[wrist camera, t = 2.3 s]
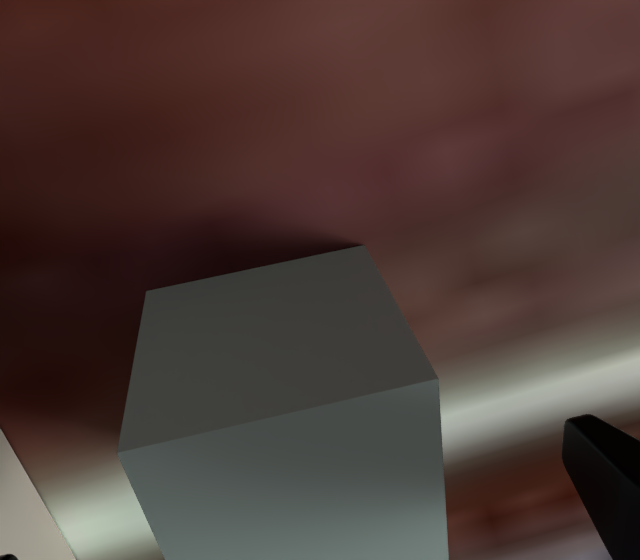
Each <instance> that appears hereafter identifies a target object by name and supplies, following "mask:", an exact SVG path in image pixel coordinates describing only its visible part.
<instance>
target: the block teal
mask: <svg viewBox="0 0 640 560" xmlns="http://www.w3.org/2000/svg"><path fill="white" fill-rule="evenodd" d="M117 455H118V457H119V459H120V461H121V463H122V466H123V468H124V470H125V472H126V475H127V477H128V479H129V481H130V483H131V486H132V488H133V490H134V492H135V494H136V497H137V499H138V501H139V503H140V505H141V508H142V510H143V512H144V514H145V516H146V519H147V521H148V523H149V525H150V527H151V530H152V532H153V534H154V536H155V538H156V541H157V543H158V545H159V547H160V549H161V552H162V554H163V556H164V558H165V560H449V557H448V539H447V522H446V504H445V487H444V469H443V452H442V434H441V417H440V399H439V381H438V377H437V375H436V373H435V372H434V370H433V368H432V366H431V364H430V363H429V361H428V359H427V357H426V355H425V354H424V352H423V350H422V348H421V346H420V345H419V343H418V341H417V339H416V337H415V335H414V334H413V332H412V330H411V328H410V326H409V325H408V323H407V321H406V319H405V317H404V316H403V314H402V312H401V310H400V308H399V307H398V305H397V303H396V301H395V299H394V298H393V296H392V294H391V292H390V290H389V289H388V287H387V285H386V283H385V281H384V279H383V278H382V276H381V274H380V272H379V270H378V269H377V267H376V265H375V263H374V261H373V260H372V258H371V256H370V254H369V252H368V251H367V249H366V247H365V245H362V246H357V247H352V248H347V249H343V250H338V251H333V252H329V253H324V254H319V255H314V256H310V257H305V258H300V259H296V260H291V261H286V262H281V263H277V264H272V265H267V266H263V267H258V268H253V269H248V270H244V271H239V272H234V273H230V274H225V275H220V276H215V277H211V278H206V279H201V280H196V281H192V282H187V283H182V284H178V285H173V286H168V287H163V288H159V289H154V290H149V291H146V295H145V301H144V306H143V312H142V317H141V323H140V328H139V334H138V339H137V345H136V350H135V356H134V361H133V367H132V372H131V378H130V383H129V389H128V394H127V400H126V405H125V411H124V416H123V422H122V427H121V433H120V438H119V444H118V449H117Z"/></svg>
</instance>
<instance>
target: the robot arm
mask: <svg viewBox="0 0 640 560" xmlns="http://www.w3.org/2000/svg"><path fill="white" fill-rule="evenodd" d="M562 460H563V463H564V466H565V468H566V470H567V472H568V474H569V476H570V478H571V480H572V482H573V484H574V486H575V488H576V490H577V492H578V494H579V496H580V498H581V500H582V502H583V504H584V506H585V508H586V510H587V512H588V514H589V516H590V518H591V520H592V522H593V524H594V525H595V527H596V529H597V531H598V533H599V535H600V537H601V539H602V541H603V543H604V545H605V547H606V549H607V550H608V552H609V554H610V556H611V557H612V559H613V560H640V440H638V439H637V438H635V437H633V436H631V435H629V434H627V433H626V432H624V431H622V430H620V429H618V428H616V427H614V426H613V425H611V424H609V423H607V422H605V421H603V420H602V419H600V418H598V417H596V416H594V415H590V414H585V415H581V416H577V417H572V418H569V419H567V420H566V422H565V424H564V431H563V443H562ZM0 560H18V558H17V557H16V556H15V555H13V554H5V555H1V556H0Z"/></svg>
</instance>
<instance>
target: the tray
mask: <svg viewBox="0 0 640 560" xmlns="http://www.w3.org/2000/svg"><path fill="white" fill-rule="evenodd" d="M5 554H13V555H15V556H16V557H17V558H18V560H76V559H75V557H74V555H73V553H72V552H71V550H70V548H69V546H68V545H67V543H66V541H65V540H64V538H63V536H62V534H61V533H60V531H59V529H58V527H57V526H56V524H55V522H54V520H53V519H52V517H51V515H50V514H49V512H48V510H47V508H46V507H45V505H44V503H43V501H42V500H41V498H40V496H39V494H38V493H37V491H36V489H35V487H34V486H33V484H32V482H31V481H30V479H29V477H28V475H27V474H26V472H25V470H24V468H23V467H22V465H21V463H20V461H19V460H18V458H17V456H16V455H15V453H14V451H13V449H12V448H11V446H10V444H9V442H8V441H7V439H6V437H5V435H4V434H3V432H2V430H1V429H0V556H1V555H5Z"/></svg>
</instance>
